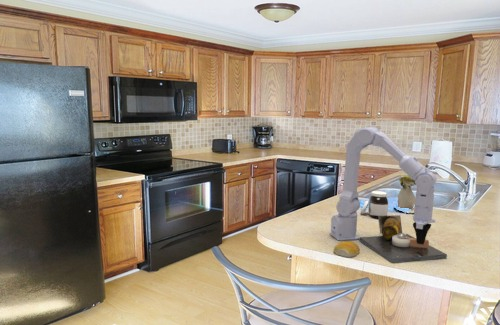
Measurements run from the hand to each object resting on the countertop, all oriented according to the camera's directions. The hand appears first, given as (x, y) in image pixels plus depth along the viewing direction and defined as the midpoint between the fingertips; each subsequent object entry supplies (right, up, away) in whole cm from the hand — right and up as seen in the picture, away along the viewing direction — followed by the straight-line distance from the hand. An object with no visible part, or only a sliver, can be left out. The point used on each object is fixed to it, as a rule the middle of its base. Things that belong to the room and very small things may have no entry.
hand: (420, 243), depth 132 cm
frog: (+19, +4, +57) cm, 60 cm away
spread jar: (-1, +3, +46) cm, 46 cm away
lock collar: (-3, -1, +2) cm, 4 cm away
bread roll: (-26, -3, -1) cm, 27 cm away
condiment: (-4, +4, +18) cm, 19 cm away
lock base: (-6, -3, +3) cm, 7 cm away
